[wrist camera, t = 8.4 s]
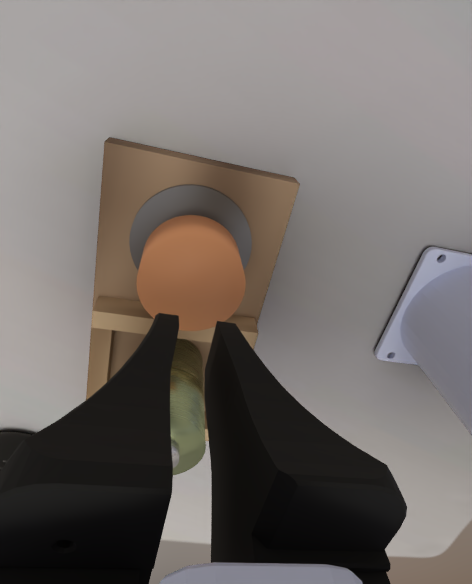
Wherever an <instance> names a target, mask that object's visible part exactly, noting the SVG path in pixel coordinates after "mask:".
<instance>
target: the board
mask: <svg viewBox="0 0 472 584" xmlns="http://www.w3.org/2000/svg"><path fill="white" fill-rule="evenodd" d="M299 185H300V184H299V183H298V182H297V180H296V179H295V178H293V177H288V176H284V175H279V174H274V173H270V172H265V171H261V170H256V169H252V168H247V167H242V166H238V165H233V164H229V163H224V162H220V161H215V160H210V159H206V158H201V157H197V156H192V155H188V154H183V153H178V152H174V151H169V150H165V149H160V148H156V147H151V146H146V145H142V144H137V143H133V142H128V141H124V140H119V139H115V138H110V137H109V138H108V139H107V140H106V141H105V143H104V157H103V171H102V185H101V199H100V213H99V227H98V241H97V255H96V269H95V283H94V297H93V311H92V325H91V339H90V353H89V367H88V381H87V395H86V400H87V399H88V398H90V397H91V396H92V395H93V394H94V393H95V392H97V391H98V390H99V389H100V388H101V387H102V386H103V385H105V384H106V383H107V382H108V381H109V380H110V379H111V378H112V377H113V376H114V375H115V374H116V373H117V372H118V371H119V370H120V369H121V367H122V366H123V365H124V364H125V363H126V362H127V360H128V359H129V358H130V357H131V356H132V354H133V353H134V352H135V351H136V349H137V348H138V346H139V345H140V344H141V342H142V341H143V339H144V338H145V336H146V335H147V333H148V331H149V329H150V328H151V326H152V324H153V321H154V318H153V317H152V316H151V315H150V314H149V313H148V312H147V311H146V310H145V308H144V307H143V305H142V303H141V301H140V299H139V296H138V293H137V286H136V282H137V274H138V270H139V266H140V262H141V258H142V254H143V250H144V246H145V244H146V241H147V239H148V238H149V236H150V235H151V233H152V232H153V231H154V230H155V229H156V228H157V227H158V226H159V225H161V224H162V223H164V222H165V221H167V220H169V219H172V218H174V217H178V216H184V215H198V216H203V217H207V218H210V219H212V220H214V221H216V222H218V223H219V224H221V225H222V226H223V227H225V228H226V229H227V230H228V231H229V232H230V234H231V235H232V236H233V238H234V240H235V242H236V244H237V247H238V250H239V254H240V258H241V262H242V266H243V270H244V274H245V280H246V288H245V293H244V297H243V300H242V302H241V304H240V306H239V307H238V309H237V310H236V311H235V312H234V313H233V315H232V316H230V317H229V318H228V319H227V320H225V321H224V322H229V323H235V324H236V325H237V327H238V328H239V330H240V331H241V332H242V334H243V335H244V337H245V338H246V340H247V341H248V343H249V344H250V346H251V347H252V349H254V346H255V342H256V339H257V336H258V330H257V322H258V319H259V316H260V312H261V309H262V306H263V303H264V299H265V296H266V293H267V290H268V286H269V283H270V280H271V277H272V273H273V270H274V267H275V263H276V260H277V257H278V254H279V250H280V247H281V244H282V241H283V237H284V234H285V231H286V228H287V224H288V221H289V218H290V214H291V211H292V208H293V205H294V201H295V198H296V195H297V192H298V188H299ZM215 327H216V326H215ZM215 327H212V328H209V329H205V330H200V331H182V330H179V331H178V336H177V338H179V339H186V340H188V341H189V342H191V343H192V344H194V345H195V346H196V347H197V348H198V350H199V351H200V353H201V355H202V360H203V384H204V383H205V367H206V363H207V359H208V355H209V351H210V347H211V343H212V339H213V335H214V331H215ZM204 414H205V441H209V438H208V428H207V419H206V410H205V399H204Z"/></svg>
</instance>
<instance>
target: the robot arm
mask: <svg viewBox="0 0 472 584" xmlns="http://www.w3.org/2000/svg"><path fill="white" fill-rule="evenodd" d="M440 255H442V257H441V258H440V259H438V260H437V258H438V257H439V256H440ZM178 331H179V316H178V315H171V314H164V313H158V314H157V315H155V319H154V321H153V324H152V326H151V328H150V329H149V331H148V333H147V335H146V336H145V338H144V339H143V341H142V342H141V344H140V345H139V346H138V348H137V349H136V351H135V352H134V353H133V354H132V356H131V357H130V358H129V359H128V360H127V362H126V363H125V364H124V365H123V366H122V367H121V369H120V370H119V371H118V372H117V373H116V374H115V375H114V376H113V377H112V378H111V379H110V380H109V381H108V382H107V383H106V384H105V385H103V386H102V387H101V388H100V389H99V390H98V391H97V392H95V393H94V394H93V395H92V396H91V397H90V398H88V399H87V400H86V401H85V402H83V403H82V404H81V405H79V406H78V407H76V408H75V409H73V410H72V411H71V412H69V413H68V414H66V415H65V416H64V417H62V418H61V419H59V420H58V421H56V422H55V423H53V424H51V425H50V426H48V427H46V428H44V429H43V430H41V431H39V432H37V433H36V434H34V435H32V436H31V437H29V438H27V439H25V440H23V441H22V442H21V443H20V444H19V446H18V447H17V448H16V450H15V451H14V452H13V454H12V455H11V456H10V458H9V459H8V461H7V462H6V464H5V465H4V467H3V468H2V470H1V471H0V584H149V579H150V576H151V572H152V569H153V568H154V564H155V559H156V555H157V552H158V548H159V544H160V539H161V535H162V531H163V527H164V523H165V519H166V515H167V511H168V507H169V502H170V498H171V494H172V478H173V461H172V447H171V427H170V376H171V366H172V361H173V356H174V351H175V346H176V341H177V336H178ZM391 352H392V353H391ZM389 353H391V354H389ZM388 354H389V355H388ZM375 356H376V357H377V359H379V360H383V361H391V362H398V363H406V364H414V365H419V366H420V368H421V369H422V370H423V372H424V373H425V374H426V376H427V377H428V378H429V380H430V381H431V382H432V384H433V385H434V386H435V388H436V389H437V390H438V391H439V393H440V394H441V395H442V397H443V398H444V399H445V401H446V402H447V403H448V405H449V406H450V407H451V409H452V410H453V411H454V413H455V414H456V415H457V417H458V418H459V419H460V420H461V422H462V423H463V424H464V426H465V427H466V428H467V430H468V431H469V432H470V434H471V435H472V254H469V253H464V252H459V251H454V250H448V249H443V248H438V247H429V248H427V249H426V250H425V251H424V252H423V254H422V256H421V258H420V260H419V262H418V264H417V266H416V268H415V270H414V272H413V274H412V276H411V278H410V280H409V282H408V284H407V286H406V289H405V291H404V293H403V295H402V297H401V299H400V301H399V303H398V305H397V307H396V309H395V311H394V313H393V315H392V317H391V319H390V321H389V323H388V325H387V327H386V329H385V331H384V333H383V335H382V337H381V339H380V341H379V343H378V345H377V347H376V349H375ZM204 399H205V410H206V419H207V428H208V438H209V447H210V456H211V470H212V533H211V563H205V564H197V565H189V566H186V567H184V568H182V569H179V570H177V571H175V572H173V573H171V574H168V575H166V576H165V577H164V578H163V579H162V580H161V582H160V583H159V584H390V581H389V579H388V576H387V574H386V572H388V571H389V570H390V562H389V560H388V557H387V555H386V552H385V548H386V547H387V545H388V544H389V543H390V541H391V540H392V538H393V537H394V536H395V534H396V533H397V531H398V530H399V529H400V527H401V525H402V523H403V521H404V519H405V517H406V511H407V506H406V503H405V501H404V498H403V496H402V494H401V492H400V490H399V488H398V486H397V484H396V481H395V480H394V478H393V476H392V474H391V472H390V470H389V469H388V467H387V465H386V464H384V463H382V462H380V461H379V460H377V459H375V458H374V457H372V456H370V455H369V454H367V453H365V452H364V451H362V450H360V449H359V448H357V447H355V446H354V445H352V444H351V443H349V442H348V441H347V440H345V439H344V438H342V437H341V436H339V435H338V434H336V433H335V432H334V431H332V430H331V429H330V428H328V427H327V426H326V425H324V424H323V423H322V422H321V421H319V420H318V419H317V418H316V417H315V416H313V415H312V414H311V413H310V412H309V411H307V410H306V409H305V408H304V407H303V406H302V405H301V404H300V403H299V402H298V401H297V400H296V399H295V398H294V397H292V396H291V395H290V394H289V393H288V392H287V391H286V390H285V388H284V387H283V386H282V385H281V384H280V383H279V382H278V381H277V380H276V378H275V377H274V376H273V375H272V374H271V373H270V371H269V370H268V369H267V368H266V366H265V365H264V364H263V363H262V361H261V360H260V358H259V357H258V356H257V354H256V353H255V352H254V350H253V349H252V347H251V346H250V344H249V343H248V341H247V340H246V338H245V337H244V335H243V334H242V332H241V331H240V330H239V328H238V327H237V325H236V324H235V323H229V322H221V321H217V323H216V327H215V331H214V335H213V339H212V343H211V347H210V351H209V355H208V359H207V363H206V367H205V383H204Z"/></svg>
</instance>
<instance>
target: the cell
mask: <svg viewBox="0 0 472 584" xmlns="http://www.w3.org/2000/svg"><path fill="white" fill-rule="evenodd" d="M170 427H171V447H172V461H173V475H176V474H180V473H182V472H185V471H187V470H189V469H191V468H192V467H194V466H195V465H196V464H198V462H199V461H200V460H201V459H202V457H203V455H204V453H205V447H206V444H205V414H204V384H203V360H202V355H201V353H200V351H199V350H198V348H197V347H196V346H195V345H194V344H192V343H191V342H189V341H188V340H186V339H179V338H177V341H176V346H175V351H174V356H173V361H172V366H171V376H170Z"/></svg>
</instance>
